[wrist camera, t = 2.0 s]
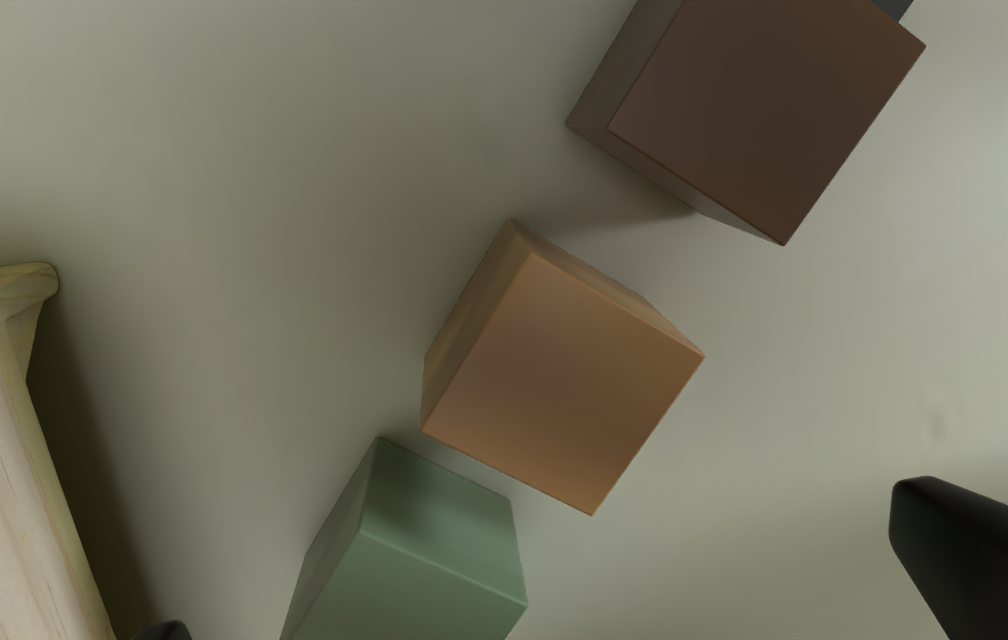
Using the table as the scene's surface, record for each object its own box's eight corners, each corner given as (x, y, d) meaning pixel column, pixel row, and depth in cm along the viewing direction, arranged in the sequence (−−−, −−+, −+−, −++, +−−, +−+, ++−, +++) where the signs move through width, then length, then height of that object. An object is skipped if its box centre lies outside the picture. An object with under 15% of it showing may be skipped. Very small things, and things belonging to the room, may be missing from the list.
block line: (847, -474, 15) (1030, -738, 11) (1076, -243, 17) (1320, -379, 12) (262, 536, 22) (212, 655, 17) (473, 626, 24) (481, 756, 19)
